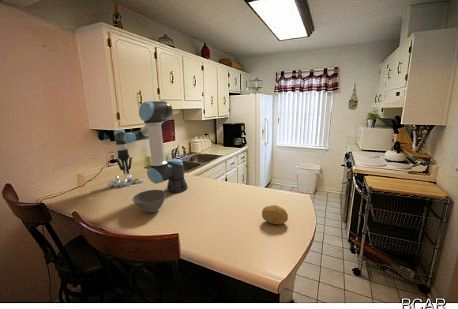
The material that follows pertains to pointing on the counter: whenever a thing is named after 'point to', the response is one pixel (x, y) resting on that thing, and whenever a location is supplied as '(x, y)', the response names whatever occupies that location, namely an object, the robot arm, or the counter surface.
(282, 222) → the potato
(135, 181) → the nut
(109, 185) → the mat
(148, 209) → the bowl
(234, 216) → the counter surface
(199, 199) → the counter surface
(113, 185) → the spacers
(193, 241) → the counter surface
